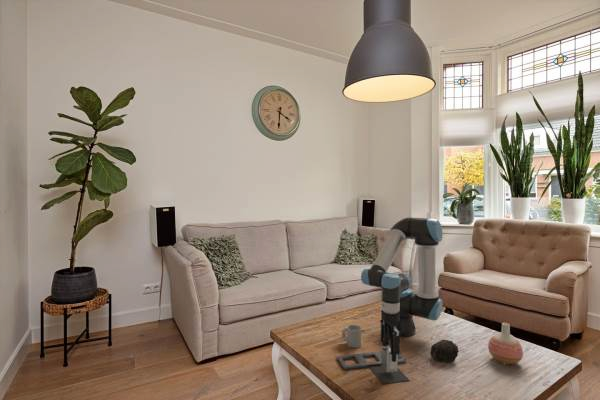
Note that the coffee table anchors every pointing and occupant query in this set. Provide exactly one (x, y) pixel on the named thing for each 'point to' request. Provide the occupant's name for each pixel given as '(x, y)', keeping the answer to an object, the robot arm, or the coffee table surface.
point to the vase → (505, 346)
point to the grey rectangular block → (387, 360)
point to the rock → (444, 351)
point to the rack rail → (362, 361)
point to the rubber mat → (389, 375)
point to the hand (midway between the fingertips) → (389, 364)
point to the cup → (352, 336)
